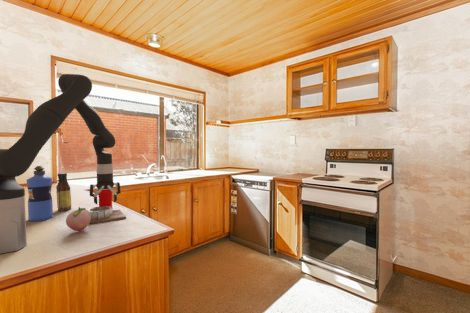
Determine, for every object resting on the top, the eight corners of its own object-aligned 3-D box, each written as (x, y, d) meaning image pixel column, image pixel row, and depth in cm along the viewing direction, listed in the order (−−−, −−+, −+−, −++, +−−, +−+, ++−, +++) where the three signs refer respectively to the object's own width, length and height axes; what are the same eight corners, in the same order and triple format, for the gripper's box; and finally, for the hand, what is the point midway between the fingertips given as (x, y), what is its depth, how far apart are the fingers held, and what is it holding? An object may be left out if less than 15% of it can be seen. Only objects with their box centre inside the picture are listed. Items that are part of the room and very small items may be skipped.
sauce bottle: (74, 208, 132) (73, 172, 132) (65, 211, 126) (64, 174, 126) (63, 208, 133) (62, 172, 132) (53, 211, 127) (52, 173, 126)
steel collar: (113, 216, 113) (113, 209, 113) (87, 220, 107) (87, 213, 107) (110, 212, 121) (110, 205, 121) (86, 215, 115) (86, 208, 115)
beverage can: (97, 213, 123) (97, 189, 123) (100, 209, 129) (100, 187, 129) (110, 212, 125) (110, 189, 124) (113, 209, 131) (112, 187, 130)
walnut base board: (126, 218, 113) (125, 216, 113) (75, 226, 102) (75, 224, 102) (119, 211, 126) (119, 209, 126) (74, 217, 115) (74, 215, 115)
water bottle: (31, 222, 107) (29, 167, 106) (25, 219, 113) (23, 166, 112) (56, 217, 115) (54, 165, 114) (49, 214, 120) (48, 165, 119)
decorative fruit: (70, 229, 99) (69, 205, 98) (93, 227, 102) (92, 203, 101) (63, 237, 90) (62, 211, 90) (88, 234, 93) (87, 209, 93)
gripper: (89, 174, 119) (90, 206, 120) (121, 172, 127) (121, 202, 128) (88, 172, 125) (89, 203, 126) (118, 171, 133) (119, 199, 134)
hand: (105, 202), depth 127 cm, fingers open, 8 cm apart
